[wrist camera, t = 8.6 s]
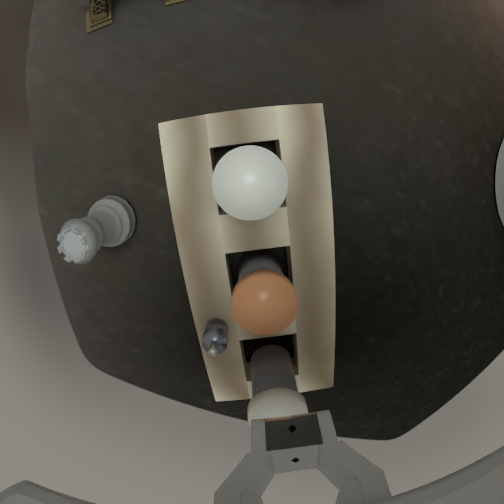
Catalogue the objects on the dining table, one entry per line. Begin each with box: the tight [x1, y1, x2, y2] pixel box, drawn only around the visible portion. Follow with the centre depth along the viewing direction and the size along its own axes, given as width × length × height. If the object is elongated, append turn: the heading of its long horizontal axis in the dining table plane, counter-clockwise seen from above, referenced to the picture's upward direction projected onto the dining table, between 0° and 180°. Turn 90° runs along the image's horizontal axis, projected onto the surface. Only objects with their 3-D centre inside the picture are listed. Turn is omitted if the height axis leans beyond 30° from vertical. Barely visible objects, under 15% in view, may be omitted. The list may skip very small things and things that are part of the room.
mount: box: [158, 103, 335, 401], centre depth 26 cm, size 12×26×3 cm, turn 7°
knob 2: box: [231, 249, 298, 335], centre depth 23 cm, size 4×4×7 cm
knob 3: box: [248, 345, 308, 427], centre depth 23 cm, size 4×4×7 cm
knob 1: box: [212, 145, 288, 221], centre depth 21 cm, size 4×4×7 cm
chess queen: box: [57, 195, 135, 264], centre depth 21 cm, size 4×4×8 cm
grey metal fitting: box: [202, 318, 229, 357], centre depth 24 cm, size 2×2×4 cm
